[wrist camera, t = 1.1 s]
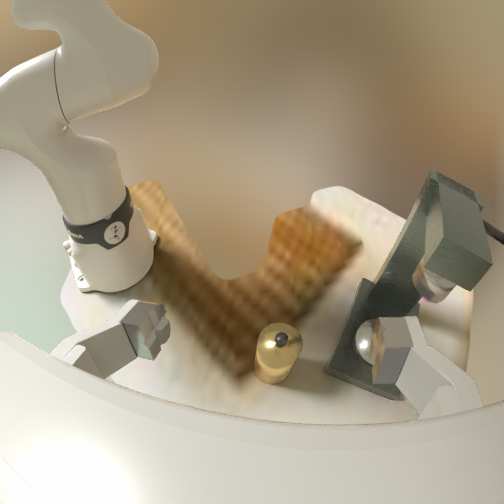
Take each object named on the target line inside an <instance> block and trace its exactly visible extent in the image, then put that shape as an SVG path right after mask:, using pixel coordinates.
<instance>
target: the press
mask: <svg viewBox="0 0 504 504" xmlns="http://www.w3.org/2000/svg"><path fill="white" fill-rule="evenodd" d="M482 209H483V204H482V201H481V198H480V195H478V194H476V193H475V192H473V191H471V190H470V189H468V188H466V187H464V186H463V185H461V184H459V183H457V182H455V181H454V180H452V179H450V178H448V177H446V176H444V175H442V174H440V173H438V172H436V171H434V170H432V169H430V170H429V172H428V175H427V177H426V179H425V182H424V184H423V186H422V189H421V191H420V193H419V195H418V198H417V200H416V202H415V204H414V206H413V208H412V211H411V213H410V215H409V217H408V219H407V221H406V223H405V225H404V227H403V229H402V231H401V233H400V235H399V237H398V239H397V240H396V242H395V244H394V246H393V248H392V250H391V252H390V253H389V255H388V257H387V259H386V261H385V262H384V264H383V266H382V268H381V269H380V271H379V273H378V275H377V276H376V278H375V280H374V281H373V282H371V281H369V280H367V279H365V278H363V279H362V280H361V282H360V284H359V287H358V289H357V292H356V295H355V298H354V300H353V303H352V306H351V308H350V311H349V314H348V316H347V319H346V321H345V324H344V326H343V329H342V331H341V333H340V336H339V338H338V341H337V343H336V345H335V347H334V350H333V352H332V354H331V357H330V359H329V361H328V363H327V365H326V367H325V370H324V372H326V373H328V374H330V375H332V376H335V377H337V378H339V379H342V380H344V381H346V382H349V383H351V384H353V385H356V386H358V387H360V388H363V389H365V390H368V391H370V392H373V393H375V394H378V395H380V396H383V397H385V398H388V399H391V400H393V399H395V398H397V397H399V394H400V390H399V388H398V387H397V386H396V385H395V384H396V383H393V384H373V376H372V367H373V364H374V363H373V362H372V361H371V360H370V344H371V339H372V335H374V334H375V333H376V332H375V322H376V319H377V318H378V317H405V316H416V317H417V318H418V312H419V305H420V304H419V303H417V302H418V301H419V300H420V299H421V297H422V296H423V297H424V298H426V299H427V300H429V301H432V302H441V301H443V300H444V299H445V298H446V297H447V295H448V294H449V293H450V292H451V291H452V290H453V288H454V287H455V286H456V285H458V286H460V287H462V288H464V289H466V290H468V291H471V290H472V289H473V288H474V287H475V285H476V284H477V283H478V282H479V281H480V280H481V278H482V277H483V276H484V274H485V273H486V272H487V271H488V269H489V268H490V267H491V266H492V259H491V254H490V249H489V245H488V240H487V235H486V234H488V235H489V236H491V237H492V238H494V239H495V240H497V241H499V242H500V243H502V244H503V245H504V233H503V232H501V231H500V230H498V229H497V228H495V227H494V226H492V225H490V224H489V223H487V222H486V221H484V220H482V216H481V213H480V212H481V210H482Z"/></svg>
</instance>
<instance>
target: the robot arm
mask: <svg viewBox="0 0 504 504" xmlns="http://www.w3.org/2000/svg"><path fill="white" fill-rule="evenodd" d="M11 14H12V19H13V21H14V23H15V24H16V25H17V26H19V27H21V28H24V29H34V30H54V31H56V32H57V33H58V34H59V36H60V37H61V40H62V45H61V46H60V47H58V48H57V49H55V50H52V51H49V52H47V53H45V54H42V55H40V56H37V57H35V58H33V59H31V60H29V61H26V62H25V63H22V64H20V65H18V66H17V67H15V68H13V69H11V70H10V71H9V72H7V73H6V74H5V75H4V76H2V77H1V78H0V149H5V150H9V151H12V152H15V153H17V154H19V155H21V156H22V157H24V158H25V159H27V160H28V161H29V162H31V163H32V164H33V165H34V166H35V167H36V168H37V169H38V170H39V171H40V172H41V174H42V175H43V176H44V178H45V179H46V181H47V183H48V184H49V186H50V188H51V190H52V192H53V194H54V196H55V198H56V200H57V202H58V204H59V206H60V209H61V211H62V213H63V221H64V225H65V227H66V230H67V231H68V236H69V240H67V241H65V242H64V243H63V245H64V247H65V250H66V252H67V253H68V254H69V257H70V261H71V264H72V268H73V272H74V275H75V278H76V282H77V285H78V287H79V289H80V291H82V292H87V291H93V290H97V291H102V292H118V291H122V290H125V289H127V288H129V287H131V286H133V285H135V284H136V283H137V282H139V281H140V280H141V279H142V278H143V277H144V276H145V275H146V274H147V272H148V271H149V269H150V267H151V265H152V263H153V258H154V250H153V249H154V245H155V243H156V241H157V234H156V232H154V231H153V230H150V229H148V227H147V224H146V221H145V219H144V216H143V213H142V211H141V209H138V208H137V207H135V206H133V203H132V198H131V195H130V193H129V190H128V188H127V187H126V186H125V185H124V181H123V177H122V173H121V169H120V165H119V160H118V156H117V152H116V150H115V149H114V147H113V146H111V144H110V143H108V142H107V141H105V140H103V139H100V138H96V137H89V136H82V135H79V134H77V133H75V132H73V131H72V130H71V129H70V128H69V126H68V125H67V124H68V123H70V122H71V121H74V120H77V119H79V118H82V117H85V116H88V115H91V114H94V113H97V112H100V111H104V110H107V109H110V108H114V107H116V106H118V105H120V104H122V103H125V102H127V101H129V100H131V99H134V98H135V97H138V96H140V95H142V94H144V93H146V92H147V91H148V90H149V88H150V87H151V85H152V83H153V82H154V80H155V77H156V75H157V71H158V66H159V56H158V51H157V48H156V46H155V44H154V42H153V41H152V39H151V38H150V37H149V36H148V35H146V34H145V33H143V32H142V31H140V30H138V29H135V28H133V27H132V26H130V25H128V24H127V23H125V22H124V21H122V20H121V19H120V18H118V16H117V15H116V14H115V13H114V12H113V11H112V10H111V9H110V7H109V6H108V4H107V2H106V0H11ZM165 313H166V311H165V308H164V305H162V304H160V303H154V302H148V301H141V300H135V299H131V300H129V301H128V302H127V303H126V304H125V305H124V306H123V307H122V308H121V309H120V310H119V311H118V312H117V313H116V314H115V315H114V317H113V318H112V319H111V320H106V321H103V322H101V323H99V324H96V325H94V326H92V327H90V328H87V329H85V330H83V331H80V332H78V333H76V334H73V335H71V336H69V337H66V338H64V340H63V341H62V342H61V343H60V344H59V345H58V346H57V347H56V348H55V349H54V350H53V351H52V352H51V353H50V354H48V353H46V352H44V351H43V350H41V349H39V348H37V347H35V346H34V345H32V344H30V343H28V342H27V341H25V340H23V339H22V338H20V337H18V336H17V335H15V334H14V333H12V332H10V331H7V330H6V331H1V332H0V504H504V401H501V402H498V403H494V404H491V405H487V406H484V405H483V402H482V399H481V397H480V393H479V390H478V387H477V385H476V382H475V380H474V379H473V378H472V377H470V376H469V375H468V374H467V373H465V372H464V371H463V370H462V369H460V368H459V367H458V366H457V365H455V364H454V363H453V362H452V361H450V360H449V359H448V358H447V357H445V356H444V355H443V354H441V353H440V352H439V351H438V350H436V349H435V348H434V347H433V346H428V344H427V341H426V338H425V336H424V333H423V330H422V328H421V325H420V323H419V320H418V318H417V317H416V316H405V317H378V318H377V319H376V322H375V332H376V333H375V334H374V335H372V339H371V344H370V360H371V361H372V362H373V363H374V364H373V367H372V376H373V384H393V383H396V384H395V385H396V386H397V387H398V388H399V390H400V391H401V392H402V393H403V395H404V396H405V397H406V398H407V400H408V401H409V402H410V404H411V405H412V406H413V407H414V409H415V410H416V411H417V412H418V414H419V415H420V416H419V418H418V419H417V420H413V421H404V422H394V423H381V424H361V425H321V424H301V423H287V422H277V421H267V420H259V419H252V418H245V417H239V416H233V415H227V414H222V413H217V412H212V411H207V410H203V409H198V408H194V407H190V406H186V405H182V404H178V403H174V402H171V401H167V400H163V399H160V398H157V397H153V396H150V395H147V394H144V393H141V392H138V391H135V390H132V389H129V388H126V387H123V386H121V385H118V384H115V383H113V382H110V381H107V380H105V378H107V377H108V376H110V375H111V374H113V373H114V372H116V371H118V370H119V369H121V368H122V367H124V366H125V365H127V364H128V363H130V362H131V361H133V360H134V359H136V358H137V357H141V358H145V359H149V360H154V359H155V358H156V356H157V355H158V353H159V352H160V350H161V347H160V345H162V344H164V343H165V342H166V341H167V340H168V338H169V335H170V324H169V321H168V320H167V319H166V317H165V316H164V315H165Z"/></svg>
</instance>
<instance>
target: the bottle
mask: <svg viewBox="0 0 504 504" xmlns="http://www.w3.org/2000/svg"><path fill="white" fill-rule="evenodd" d="M301 349H302V338H301V335H300V333H299V332H298V331H297V330H296V329H295V328H294V327H292V326H291V325H289V324H285V323H273V324H270V325H268V326H266V327H265V328H264V329H263V330H262V331H261V333H260V335H259V338H258V343H257V349H256V355H255V362H254V372H255V374H256V376H257V377H258V379H260V380H261V381H262V382H264V383H268V384H276V383H279V382H281V381H283V380H284V379H285V378H286V377H287V375H288V373H289V372H290V370H291V368H292V366H293V365H294V363H295V361H296V359H297V357H298V355H299V354H300V352H301Z"/></svg>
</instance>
